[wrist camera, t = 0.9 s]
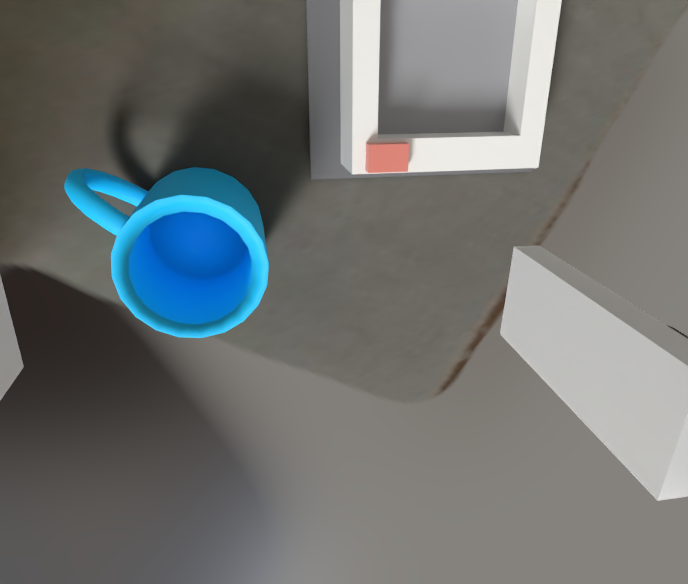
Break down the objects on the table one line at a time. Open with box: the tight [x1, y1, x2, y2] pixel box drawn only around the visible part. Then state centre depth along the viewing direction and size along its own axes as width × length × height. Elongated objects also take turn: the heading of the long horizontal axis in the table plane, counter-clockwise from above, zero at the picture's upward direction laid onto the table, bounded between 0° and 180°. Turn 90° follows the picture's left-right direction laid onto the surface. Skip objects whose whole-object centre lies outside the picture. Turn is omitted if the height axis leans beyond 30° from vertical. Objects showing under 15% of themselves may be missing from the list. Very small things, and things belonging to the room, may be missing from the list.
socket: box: [306, 0, 562, 180], centre depth 31 cm, size 18×16×5 cm
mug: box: [64, 167, 269, 338], centre depth 31 cm, size 12×8×8 cm
